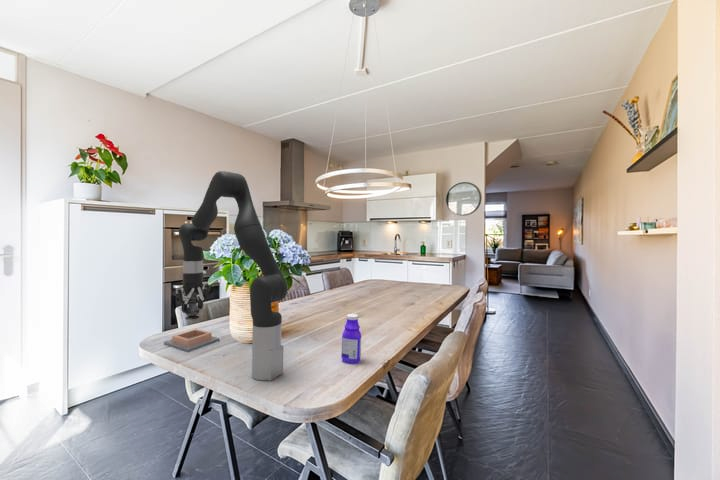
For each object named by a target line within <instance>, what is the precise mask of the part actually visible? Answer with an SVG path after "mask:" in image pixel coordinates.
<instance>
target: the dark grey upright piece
mask: <svg viewBox="0 0 720 480" xmlns="http://www.w3.org/2000/svg"><path fill="white" fill-rule="evenodd" d="M187 303H188V312H187V313H185V314H186V317H184V318H185V320H187V321H190V320H197V319H200V316H199V313H200V311H201V310H200V308H198V307H197V305H198V298H197V294H196V293H194V294H193V295H192V296H191V297H190V299H189V300H188V302H187Z"/></svg>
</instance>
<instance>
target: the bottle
mask: <svg viewBox="0 0 720 480" xmlns="http://www.w3.org/2000/svg"><path fill="white" fill-rule="evenodd" d="M360 328H361V326H360V325H359V315H358V314H356V313H348V314H347V315H346V322H345V324H344V329H343V332H342V336H341V354H340V355H341V360H342V361H343V362H344V363H348V364H357V363H358V362H360V360H361V357H362V356H361V355H362V333H361V330H360Z"/></svg>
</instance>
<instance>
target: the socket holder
mask: <svg viewBox="0 0 720 480" xmlns="http://www.w3.org/2000/svg"><path fill="white" fill-rule="evenodd" d="M212 334H213V333H212V332H210V331H205V330H201V329H198V328H193V329H191V330H187V331H183V332H180V333H177V334H174V335H172V336H171V337H172V339H168V340H166V341H163V345H165V346H168V347H171V348H174V349H177V350H179V351H182V352H186V353H190V352H192V351H196V350H199V349H201V348H203V347H206V346H209V345H212V344H214V343H217V342H220V340H221V339H220V338H219V337H216V336H212Z"/></svg>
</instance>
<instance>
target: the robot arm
mask: <svg viewBox="0 0 720 480" xmlns="http://www.w3.org/2000/svg"><path fill="white" fill-rule="evenodd" d="M221 197H223V198H231V199H232V198H233V199H235V201H236V204H237V207H238V212H237V215H236V219H235V221H234V222H235V223H234V228H233V231H234V234H235V237H236V240H237V243H238V246H239V247H240V249H241V250H242V251H243V252H244V253H245V255H247V256H248V257H249V258H250V259H251V260H252V261H253V262H254V263H255V264H256V265H257V266H258V268H259V269H260V271H261V273H262V276H258V277H255V278H253V280H252V282H251V283H250V287H249V288H250V289H249V299H250V302H249V303H250V304H249V305H250V316H251V320H252V345H251V346H252V347H251V349H252V350H251V354H252V355H251V377H252V378H253V379H254V380H256V381H269V382H270V381H273V380H274V379H276V378H277V377H279V376H281V375H283V374H284V345H282V321H283V320H282V319H283V318H282V314H281V313H280V312H277V311H274V310H273V309H272V303H275V302H279V301H283V300H284V299H285V298H286V297H287V294H288V284H287V281H286V278H285V277H284V274H283V272H282V271H281V269H280V267H279V265H278V263H277V261H276V259H275V257H274V255H273V252H272V250H271V248H270V246H269V242H268V240H267V237H266V235H265V232H264V229H263V226H262V223H261V222H260V220H259V217H258V214H257V212H256V209H255V205H254V204H253V203H254V202H253V200H252V196H251V192H250V187H249V185H248V181H247V179H246V177H245V176H244V175H242V174H240V173H236V172H231V171H225V170H219V171H217V172H215V174H214V175H213V176H212V177H211V181H210V182H209V185H208V187H207V190H206V192H205V195H204V197H203V200H202V203H201V205H200V207H199V208H198V210H197V211H196V212H195V214H194V215H193V217H192V218H191V223H184V224H181V225H180V226H179V229H178V235H179V240H180V242H181V245H182V249H183V263H182V283H183V284H182V287H181V288H175V289H174V293H175V302H176V303H177V304H181V312H182V314H183V313H184V314H186V313H187V312H188V306H189V302H188V300H189V299H190V297H191V296H192V295H193V294H194V293H196V294H197V300H198V301H197V307H198V308H200V311H201V310H202V309H203V308H204V300H206V299H208V298H209V293H210V292H209V291H210V284H205V283H203V282H204V250H203V248H202V247H201V246H197V245H194V244H193V243H192V242H196V241H197V242H201V241H204V240H206V239H207V238H208V235H209V232H210V228H211V225H212V224H213V223H214V221H215V220H216V219H217V216H218V206H217V202H218V200H219V199H220V198H221Z"/></svg>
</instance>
